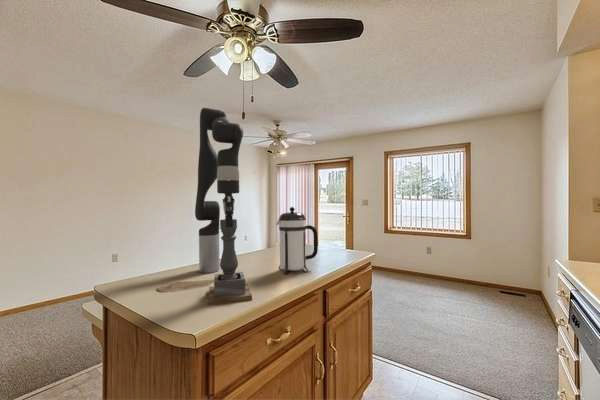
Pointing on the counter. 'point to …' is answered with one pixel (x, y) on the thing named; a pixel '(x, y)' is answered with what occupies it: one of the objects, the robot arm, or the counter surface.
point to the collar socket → (229, 290)
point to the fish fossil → (183, 286)
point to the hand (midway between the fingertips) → (228, 226)
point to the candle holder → (228, 251)
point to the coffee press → (294, 241)
